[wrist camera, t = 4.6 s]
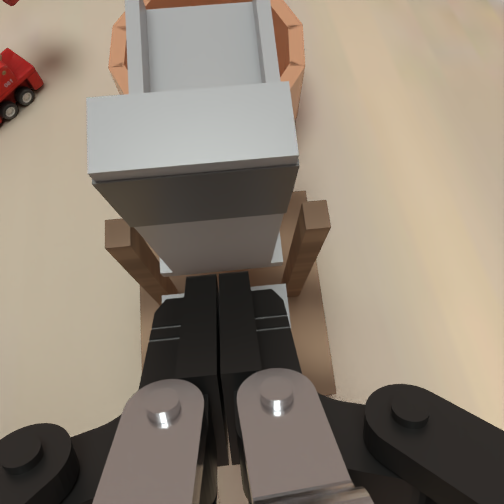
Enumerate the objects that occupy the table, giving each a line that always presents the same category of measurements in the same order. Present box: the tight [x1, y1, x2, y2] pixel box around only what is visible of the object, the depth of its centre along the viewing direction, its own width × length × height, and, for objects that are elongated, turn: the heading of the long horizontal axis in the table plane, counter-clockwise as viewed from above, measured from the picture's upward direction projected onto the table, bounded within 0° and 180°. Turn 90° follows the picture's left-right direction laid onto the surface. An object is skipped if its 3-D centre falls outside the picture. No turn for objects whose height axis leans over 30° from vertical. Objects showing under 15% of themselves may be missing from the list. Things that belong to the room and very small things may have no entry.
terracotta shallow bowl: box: [108, 0, 305, 121], centre depth 33 cm, size 13×13×6 cm
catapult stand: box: [105, 191, 336, 395], centre depth 25 cm, size 14×12×14 cm
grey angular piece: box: [86, 0, 299, 328], centre depth 16 cm, size 18×6×13 cm, turn 6°
